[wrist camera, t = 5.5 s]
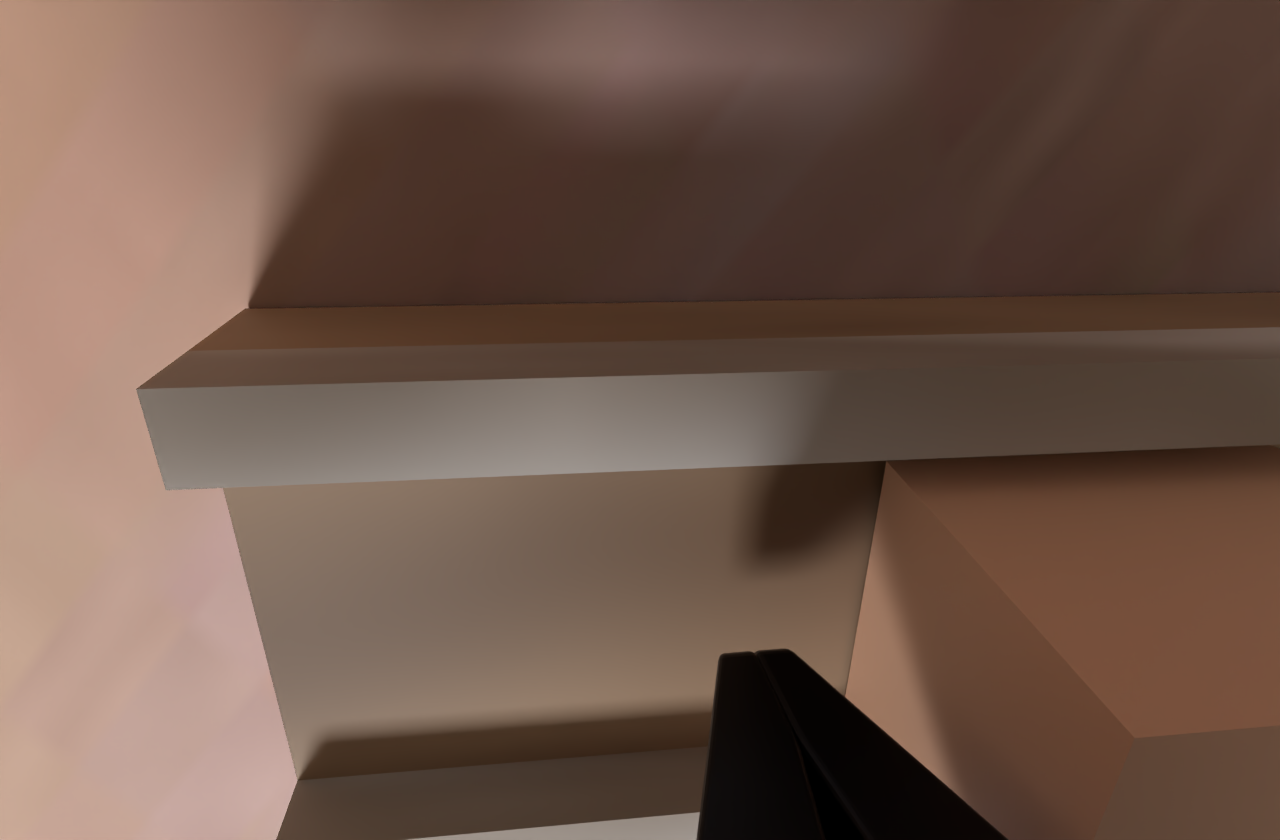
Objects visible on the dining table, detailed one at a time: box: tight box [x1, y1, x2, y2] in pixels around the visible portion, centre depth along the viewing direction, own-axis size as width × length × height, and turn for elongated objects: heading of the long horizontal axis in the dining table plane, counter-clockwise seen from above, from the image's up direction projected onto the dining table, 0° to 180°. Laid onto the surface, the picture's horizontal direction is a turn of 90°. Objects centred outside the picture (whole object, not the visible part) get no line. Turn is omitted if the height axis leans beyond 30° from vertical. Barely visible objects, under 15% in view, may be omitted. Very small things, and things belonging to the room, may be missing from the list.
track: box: [136, 292, 1280, 840], centre depth 9 cm, size 7×17×4 cm, turn 89°
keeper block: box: [845, 445, 1280, 840], centre depth 8 cm, size 4×5×4 cm
